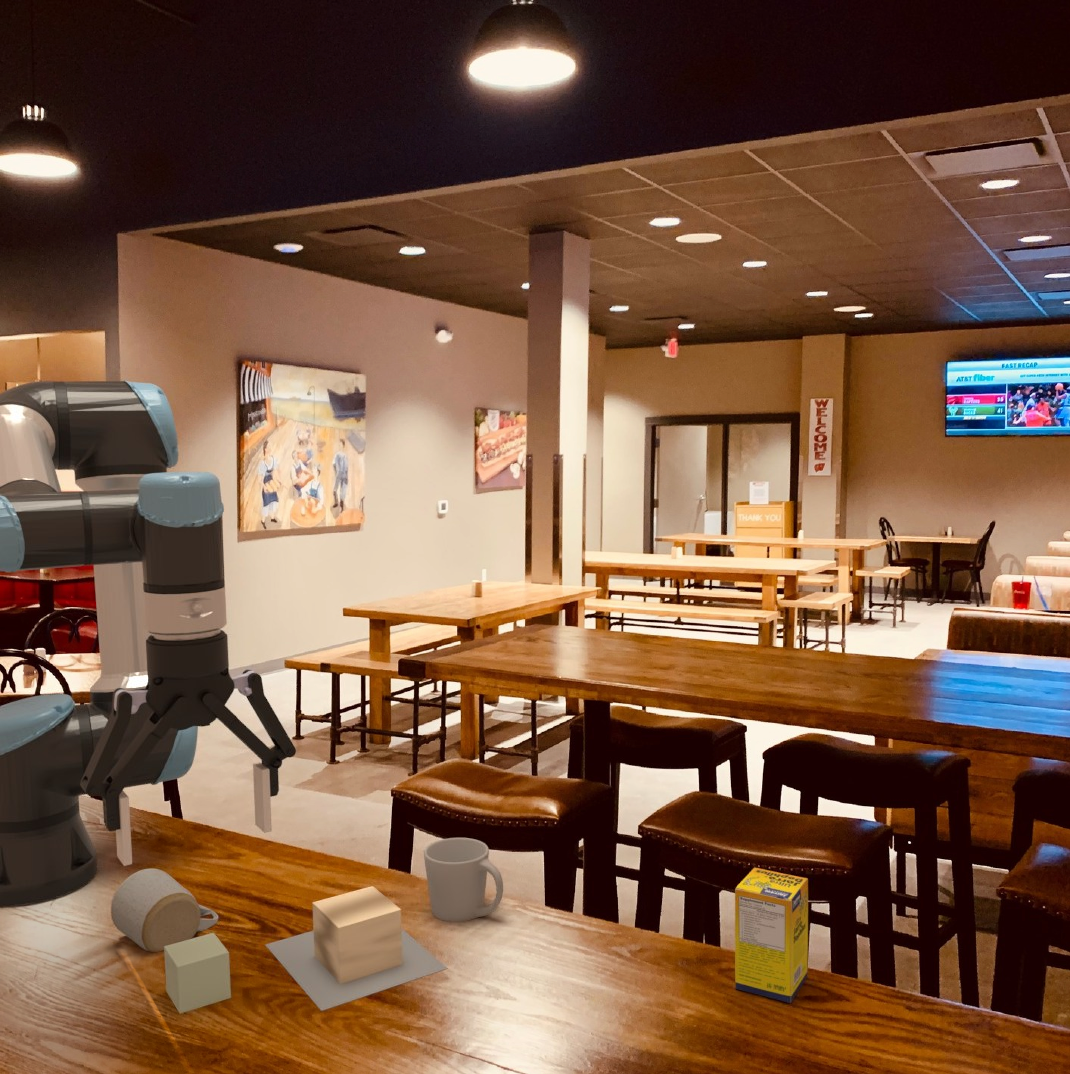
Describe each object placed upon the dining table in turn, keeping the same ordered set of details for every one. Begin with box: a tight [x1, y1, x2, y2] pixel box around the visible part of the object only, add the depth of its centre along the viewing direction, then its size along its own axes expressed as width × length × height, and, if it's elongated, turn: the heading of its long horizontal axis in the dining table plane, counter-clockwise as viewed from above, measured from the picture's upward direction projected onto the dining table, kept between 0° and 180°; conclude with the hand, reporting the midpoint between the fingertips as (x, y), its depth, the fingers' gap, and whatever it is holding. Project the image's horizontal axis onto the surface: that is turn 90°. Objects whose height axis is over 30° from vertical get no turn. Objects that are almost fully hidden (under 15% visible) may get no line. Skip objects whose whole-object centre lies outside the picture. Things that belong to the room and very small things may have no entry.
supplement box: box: [734, 867, 809, 1004], centre depth 107 cm, size 6×6×11 cm
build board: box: [265, 927, 449, 1012], centre depth 112 cm, size 16×14×1 cm
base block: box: [312, 885, 403, 984], centre depth 111 cm, size 7×7×6 cm
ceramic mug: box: [110, 868, 219, 953], centre depth 119 cm, size 11×8×8 cm
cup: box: [423, 837, 504, 923], centre depth 122 cm, size 8×10×8 cm
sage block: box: [163, 932, 232, 1015], centre depth 105 cm, size 5×5×6 cm
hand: (196, 844), depth 103 cm, fingers open, 13 cm apart
